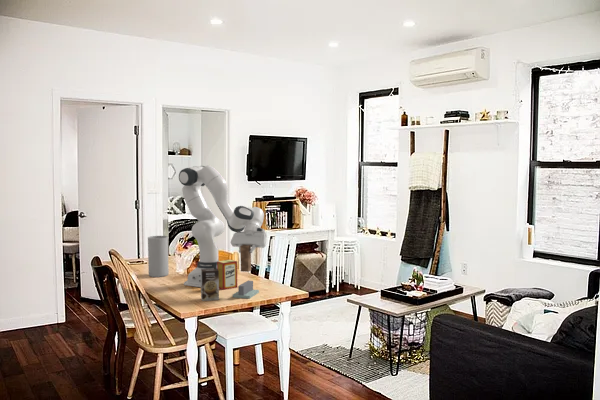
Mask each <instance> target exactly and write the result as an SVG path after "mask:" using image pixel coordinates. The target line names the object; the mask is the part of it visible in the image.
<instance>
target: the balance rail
mask: <svg viewBox="0 0 600 400" xmlns="http://www.w3.org/2000/svg"><path fill="white" fill-rule="evenodd" d="M237 289H238V290H237V291H236V292H234V293H232V298H235V299H237V298H238V299H249V300H250V299H252V298H253V297H254V296H256V295H257V294H259V293H260V289H254V280H250V279H249V280H245V282H243V283H241V284H240V285H237Z"/></svg>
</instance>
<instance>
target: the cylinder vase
mask: <svg viewBox="0 0 600 400" xmlns="http://www.w3.org/2000/svg"><path fill="white" fill-rule="evenodd" d="M147 255H148V257H147V259H148V260H147V261H148V264H147V265H148V276H149V277H150V278H151V277H152V278H163V277H166V276H168V275H169V272H170V271H169V236H167V235H152V236H148V237H147Z"/></svg>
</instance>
